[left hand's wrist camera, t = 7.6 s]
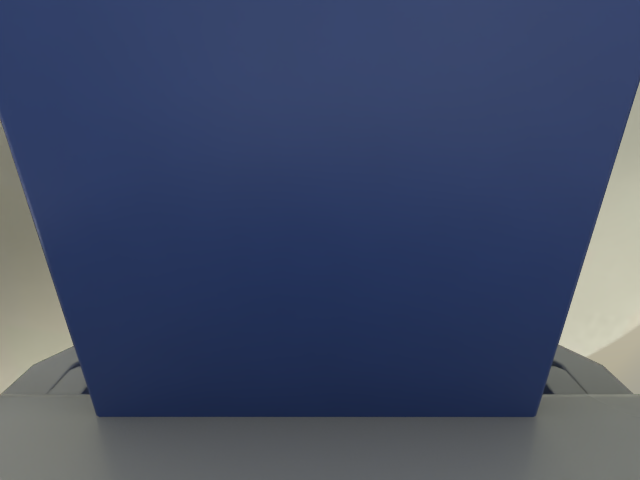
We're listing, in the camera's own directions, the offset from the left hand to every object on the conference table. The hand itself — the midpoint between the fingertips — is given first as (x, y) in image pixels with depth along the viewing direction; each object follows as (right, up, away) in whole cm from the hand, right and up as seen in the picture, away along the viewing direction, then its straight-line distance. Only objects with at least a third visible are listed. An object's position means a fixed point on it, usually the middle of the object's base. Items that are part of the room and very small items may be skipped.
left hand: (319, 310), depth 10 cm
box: (0, +9, +3) cm, 10 cm away
